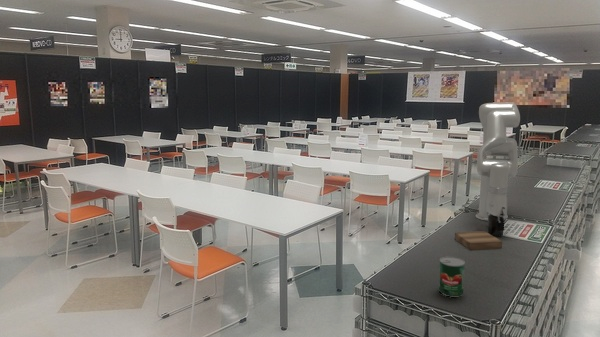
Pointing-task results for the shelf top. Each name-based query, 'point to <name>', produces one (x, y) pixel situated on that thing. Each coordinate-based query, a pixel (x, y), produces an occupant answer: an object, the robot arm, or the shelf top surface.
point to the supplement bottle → (493, 226)
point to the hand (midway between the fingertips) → (495, 227)
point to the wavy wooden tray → (478, 240)
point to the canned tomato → (451, 276)
